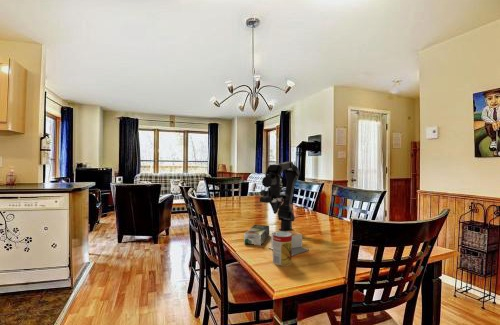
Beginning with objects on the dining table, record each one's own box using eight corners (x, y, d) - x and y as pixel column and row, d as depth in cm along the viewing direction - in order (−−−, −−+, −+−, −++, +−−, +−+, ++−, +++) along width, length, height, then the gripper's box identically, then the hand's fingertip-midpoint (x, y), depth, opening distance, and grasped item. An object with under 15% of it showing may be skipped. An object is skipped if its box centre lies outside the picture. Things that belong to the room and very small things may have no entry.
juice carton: (261, 246, 131) (261, 234, 131) (242, 245, 134) (242, 232, 134) (270, 236, 150) (269, 225, 150) (253, 234, 153) (253, 224, 153)
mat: (286, 243, 136) (286, 242, 136) (308, 250, 125) (308, 249, 125) (268, 248, 128) (268, 247, 128) (290, 256, 117) (290, 255, 117)
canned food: (295, 262, 111) (295, 233, 111) (284, 267, 105) (284, 237, 105) (280, 257, 116) (280, 230, 116) (269, 262, 110) (269, 233, 110)
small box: (302, 234, 129) (278, 237, 124) (302, 246, 129) (278, 250, 124) (293, 229, 136) (271, 232, 131) (293, 242, 136) (271, 245, 131)
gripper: (276, 183, 159) (276, 209, 159) (253, 185, 147) (253, 213, 147) (290, 185, 151) (290, 212, 151) (266, 187, 139) (266, 216, 139)
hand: (275, 213), depth 147 cm, fingers closed
